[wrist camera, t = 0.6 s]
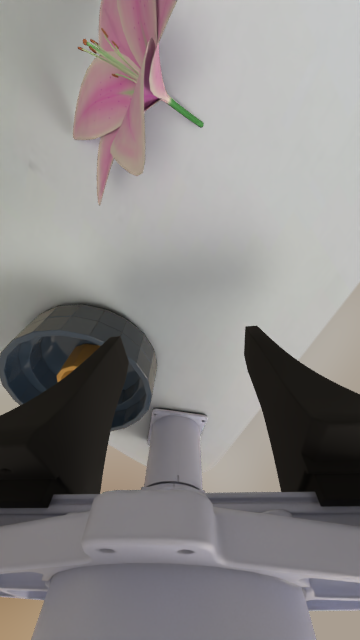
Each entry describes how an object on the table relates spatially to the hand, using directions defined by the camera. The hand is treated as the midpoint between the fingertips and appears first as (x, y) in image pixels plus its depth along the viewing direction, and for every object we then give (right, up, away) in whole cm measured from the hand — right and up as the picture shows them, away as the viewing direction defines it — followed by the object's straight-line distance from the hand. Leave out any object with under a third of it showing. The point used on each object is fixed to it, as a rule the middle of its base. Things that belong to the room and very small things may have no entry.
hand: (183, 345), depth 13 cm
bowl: (-11, -3, +14) cm, 18 cm away
